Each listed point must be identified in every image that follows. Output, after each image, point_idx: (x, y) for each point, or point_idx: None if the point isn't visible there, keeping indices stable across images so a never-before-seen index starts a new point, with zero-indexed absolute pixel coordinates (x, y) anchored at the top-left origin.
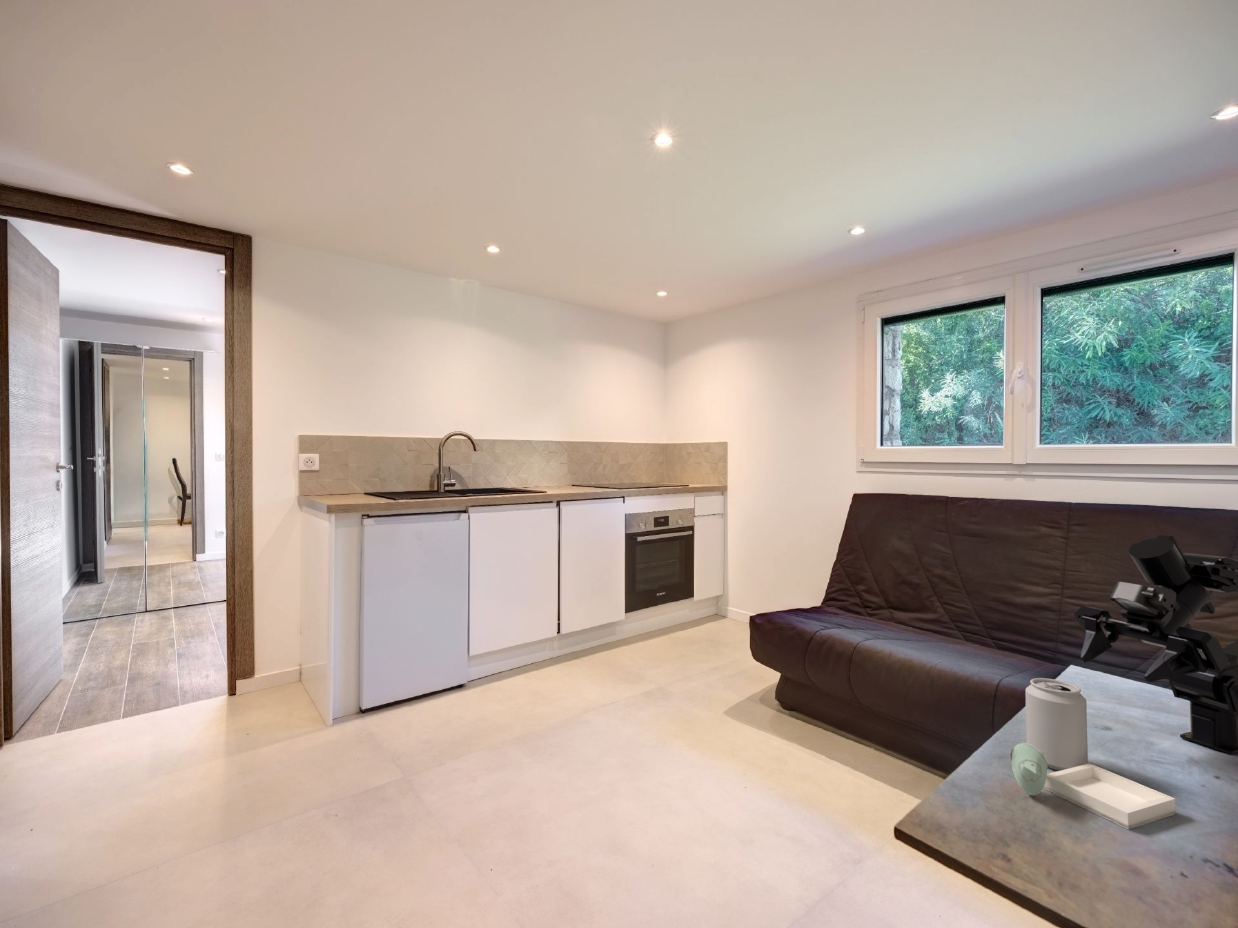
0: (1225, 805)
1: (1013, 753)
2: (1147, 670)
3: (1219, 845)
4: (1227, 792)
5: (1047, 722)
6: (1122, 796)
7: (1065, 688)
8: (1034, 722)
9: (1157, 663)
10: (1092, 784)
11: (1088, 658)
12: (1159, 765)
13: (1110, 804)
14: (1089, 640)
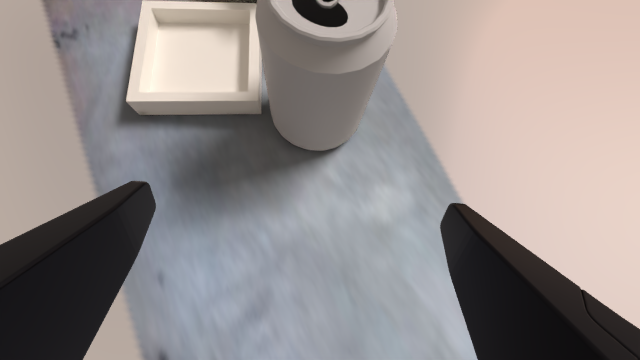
0: None
1: None
2: (122, 199)
3: (75, 83)
4: (125, 294)
5: (303, 12)
6: (195, 84)
7: (344, 62)
8: (329, 21)
9: (42, 237)
10: (236, 79)
11: (451, 246)
12: (242, 294)
13: (165, 2)
14: (561, 298)
